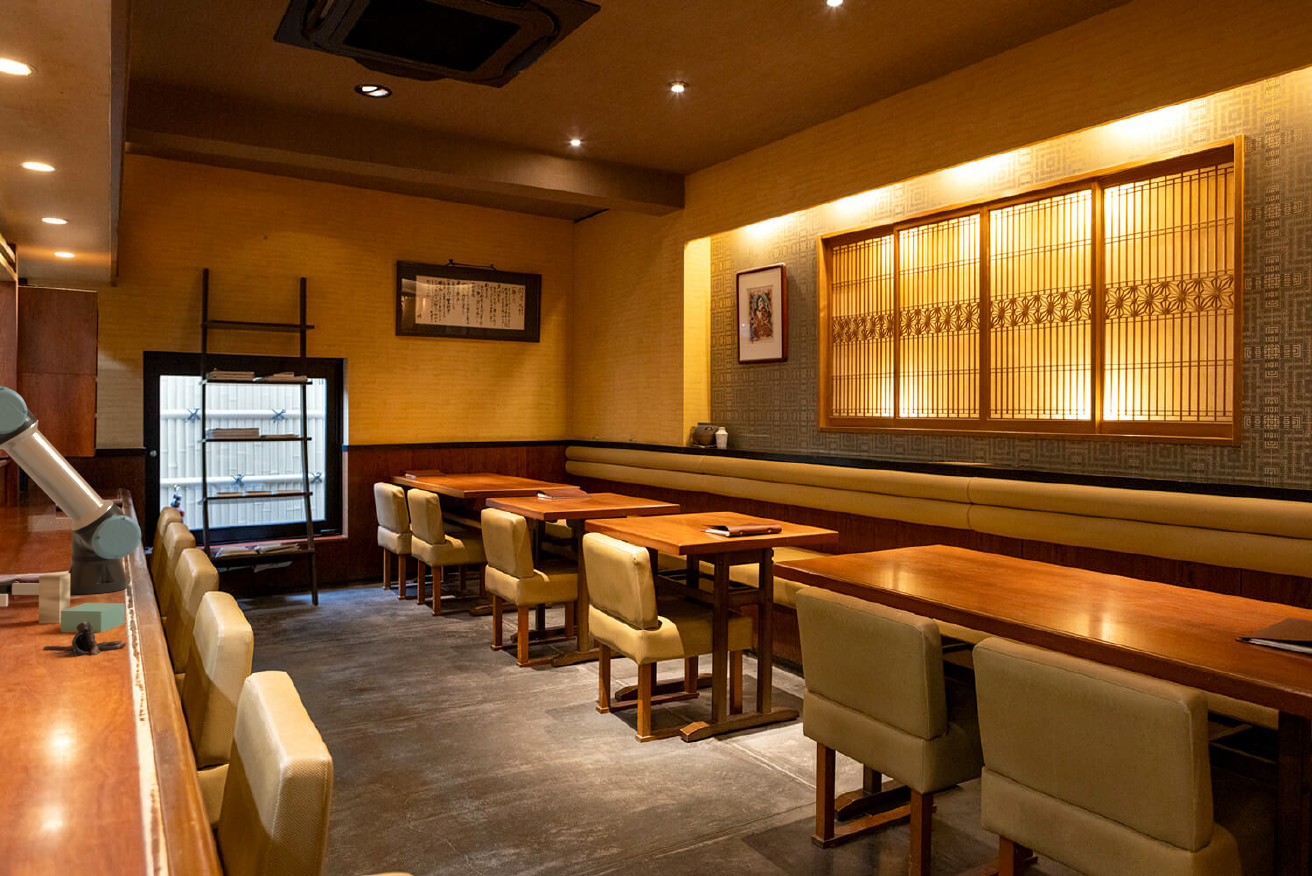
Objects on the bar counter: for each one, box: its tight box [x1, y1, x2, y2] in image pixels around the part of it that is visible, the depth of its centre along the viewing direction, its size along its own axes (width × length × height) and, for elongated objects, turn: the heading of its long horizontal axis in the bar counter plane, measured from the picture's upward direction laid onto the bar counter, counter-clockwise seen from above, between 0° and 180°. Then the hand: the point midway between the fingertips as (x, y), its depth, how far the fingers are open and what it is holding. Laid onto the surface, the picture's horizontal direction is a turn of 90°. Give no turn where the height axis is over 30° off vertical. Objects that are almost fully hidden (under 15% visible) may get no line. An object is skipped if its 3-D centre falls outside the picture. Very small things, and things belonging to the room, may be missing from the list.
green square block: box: [60, 602, 126, 634], centre depth 203 cm, size 9×9×5 cm
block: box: [38, 572, 71, 624], centre depth 208 cm, size 4×4×11 cm
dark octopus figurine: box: [43, 622, 127, 657], centre depth 184 cm, size 12×10×12 cm
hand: (25, 594), depth 207 cm, fingers open, 13 cm apart
